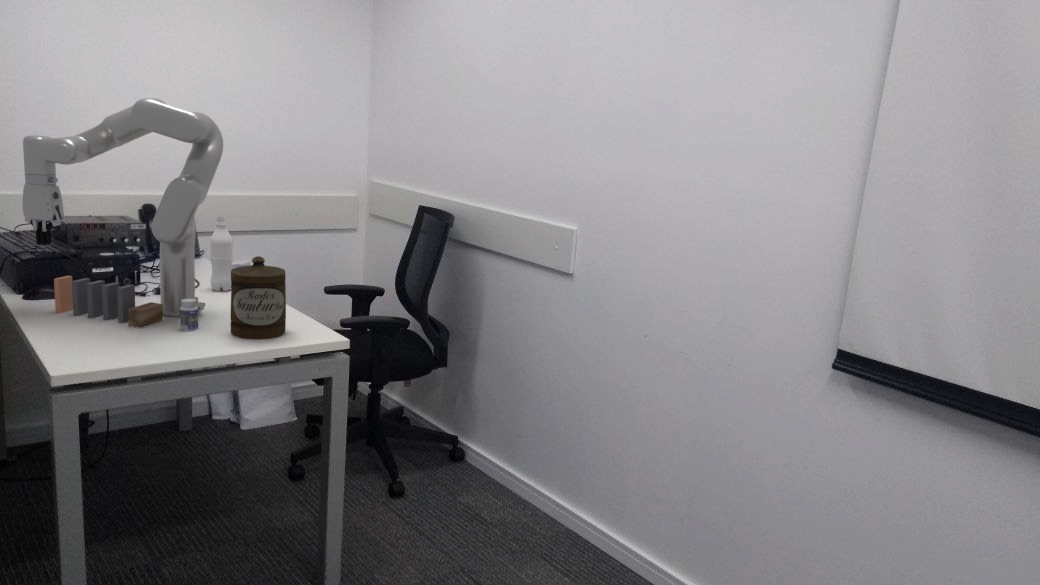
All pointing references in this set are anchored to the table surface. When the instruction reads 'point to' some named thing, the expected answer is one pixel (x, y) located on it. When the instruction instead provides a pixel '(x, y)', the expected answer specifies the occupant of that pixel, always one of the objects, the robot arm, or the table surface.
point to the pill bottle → (189, 315)
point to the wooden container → (258, 301)
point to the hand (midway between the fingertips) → (44, 244)
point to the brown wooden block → (145, 314)
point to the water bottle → (221, 256)
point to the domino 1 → (63, 294)
